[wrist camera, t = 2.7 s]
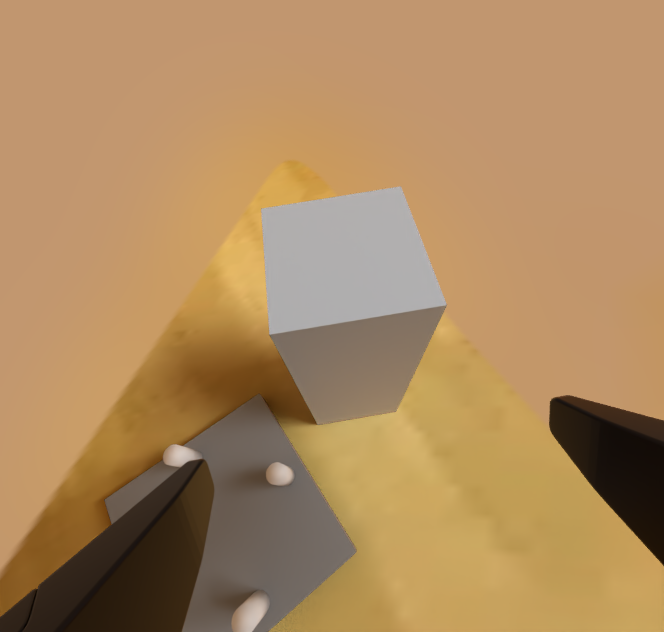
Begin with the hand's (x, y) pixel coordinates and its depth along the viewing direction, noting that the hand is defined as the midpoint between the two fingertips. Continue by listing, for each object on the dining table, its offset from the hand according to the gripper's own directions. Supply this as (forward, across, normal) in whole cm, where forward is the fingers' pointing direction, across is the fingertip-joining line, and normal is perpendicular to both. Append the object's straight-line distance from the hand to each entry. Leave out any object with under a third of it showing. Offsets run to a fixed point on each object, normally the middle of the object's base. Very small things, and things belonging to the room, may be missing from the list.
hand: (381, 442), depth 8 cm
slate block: (+12, 0, +5) cm, 13 cm away
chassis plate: (+8, +8, +9) cm, 14 cm away
